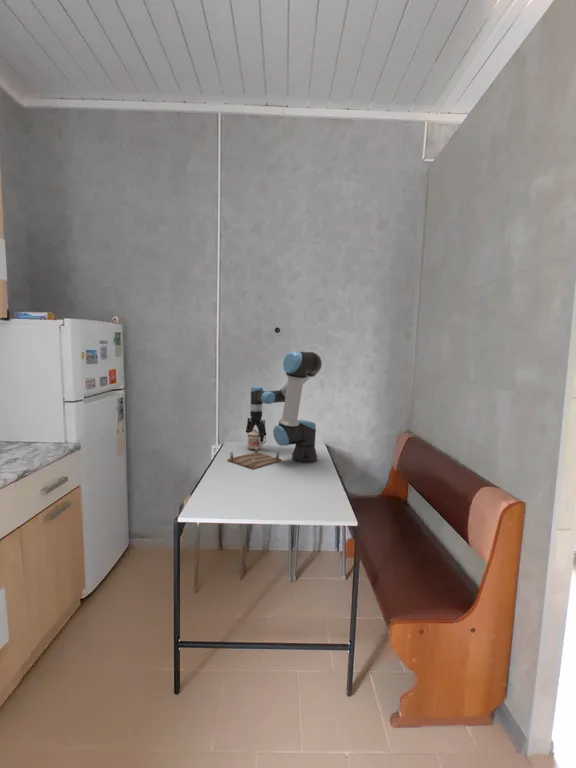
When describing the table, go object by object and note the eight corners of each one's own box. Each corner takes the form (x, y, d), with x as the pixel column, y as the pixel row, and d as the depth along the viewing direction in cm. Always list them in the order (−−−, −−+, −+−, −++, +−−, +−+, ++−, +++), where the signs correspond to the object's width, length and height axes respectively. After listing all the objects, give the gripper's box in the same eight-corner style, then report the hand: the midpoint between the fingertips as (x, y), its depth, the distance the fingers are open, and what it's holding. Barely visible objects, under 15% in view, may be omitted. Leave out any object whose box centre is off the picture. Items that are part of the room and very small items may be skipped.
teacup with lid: (246, 449, 246) (246, 430, 245) (248, 445, 255) (248, 428, 254) (265, 449, 246) (265, 431, 245) (266, 446, 255) (266, 428, 254)
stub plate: (281, 461, 227) (281, 452, 226) (253, 469, 209) (253, 460, 209) (256, 453, 240) (256, 445, 240) (227, 461, 223) (227, 452, 222)
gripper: (272, 412, 245) (271, 447, 247) (248, 408, 259) (248, 441, 261) (264, 413, 239) (263, 449, 241) (240, 409, 253) (239, 443, 255)
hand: (255, 445), depth 251 cm, fingers closed on teacup with lid, 9 cm apart
